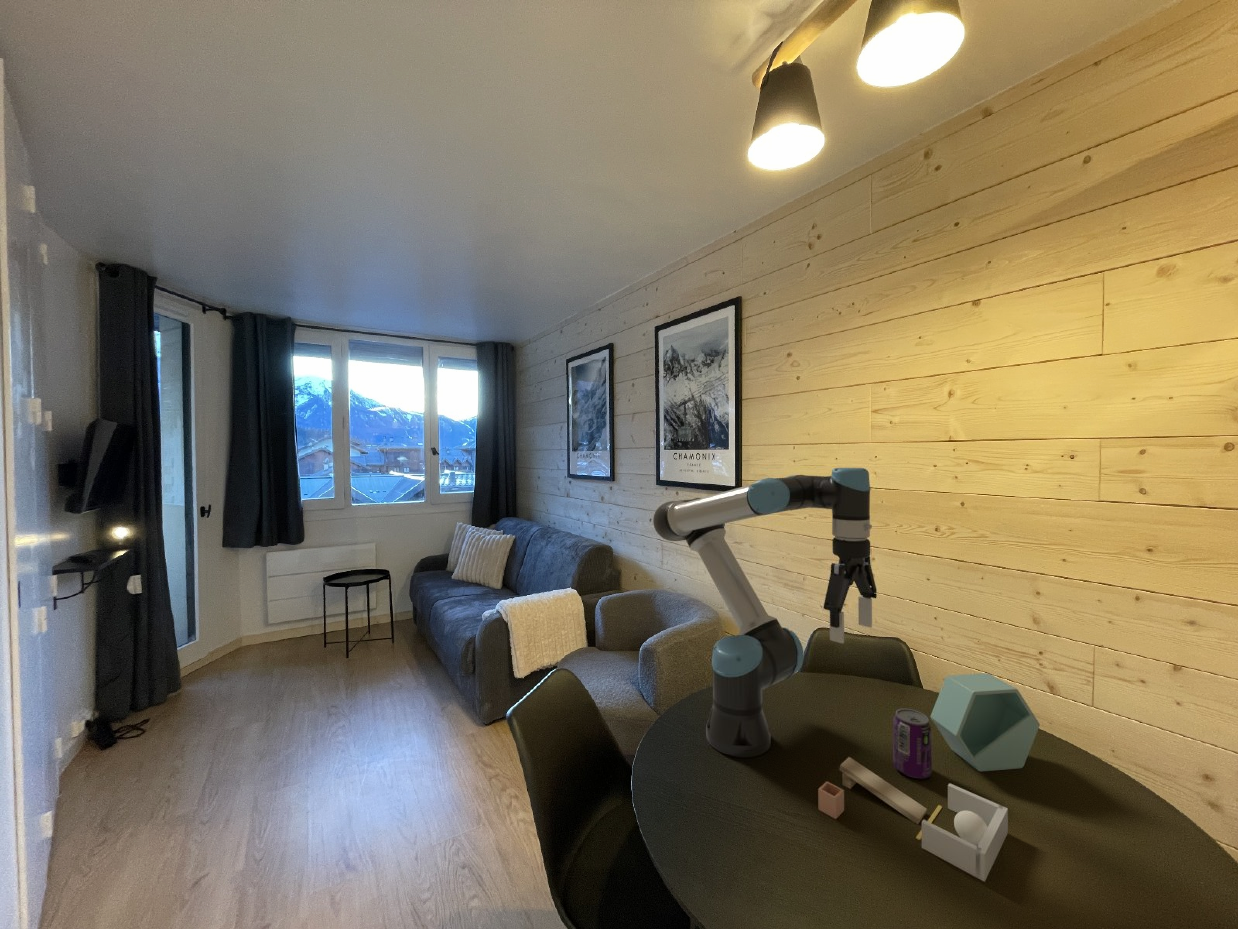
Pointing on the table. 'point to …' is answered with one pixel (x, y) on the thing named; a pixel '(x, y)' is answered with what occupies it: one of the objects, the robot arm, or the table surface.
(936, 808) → the line
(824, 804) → the salmon pink box
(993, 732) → the hexagonal wall shelf
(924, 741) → the beverage can
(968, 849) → the fence
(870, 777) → the ramp
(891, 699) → the table surface
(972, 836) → the ball
